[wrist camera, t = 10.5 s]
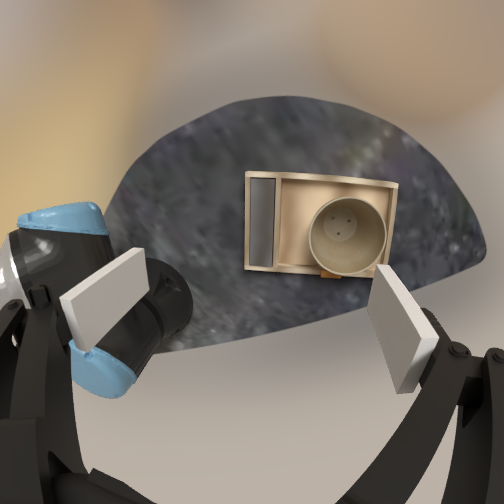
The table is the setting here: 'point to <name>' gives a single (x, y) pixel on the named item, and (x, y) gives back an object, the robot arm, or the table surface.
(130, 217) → the table surface
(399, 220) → the table surface
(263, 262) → the wooden tray
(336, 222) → the flower pot
